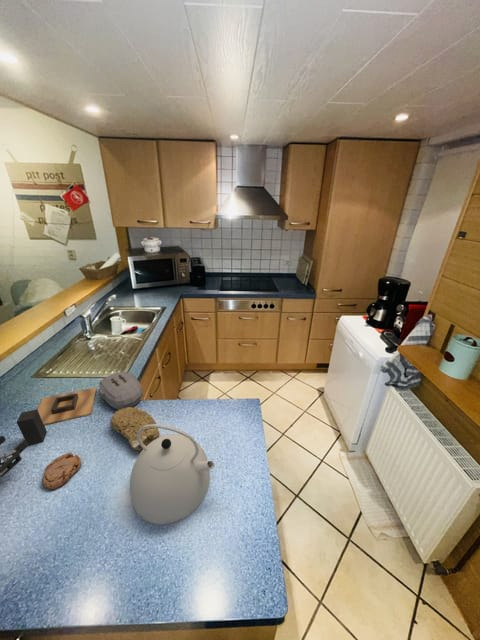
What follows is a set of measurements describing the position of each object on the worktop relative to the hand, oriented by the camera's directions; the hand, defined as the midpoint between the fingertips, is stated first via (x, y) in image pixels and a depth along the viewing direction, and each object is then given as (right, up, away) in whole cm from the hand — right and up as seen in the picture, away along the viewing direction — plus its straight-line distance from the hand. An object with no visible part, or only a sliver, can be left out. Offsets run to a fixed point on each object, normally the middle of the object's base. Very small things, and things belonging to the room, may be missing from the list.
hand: (15, 439), depth 80 cm
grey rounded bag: (+22, +5, +28) cm, 36 cm away
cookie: (+17, -9, -3) cm, 20 cm away
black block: (+1, -3, +8) cm, 9 cm away
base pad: (+1, +3, +22) cm, 22 cm away
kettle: (+53, -10, -5) cm, 54 cm away
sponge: (+34, -3, +11) cm, 36 cm away
